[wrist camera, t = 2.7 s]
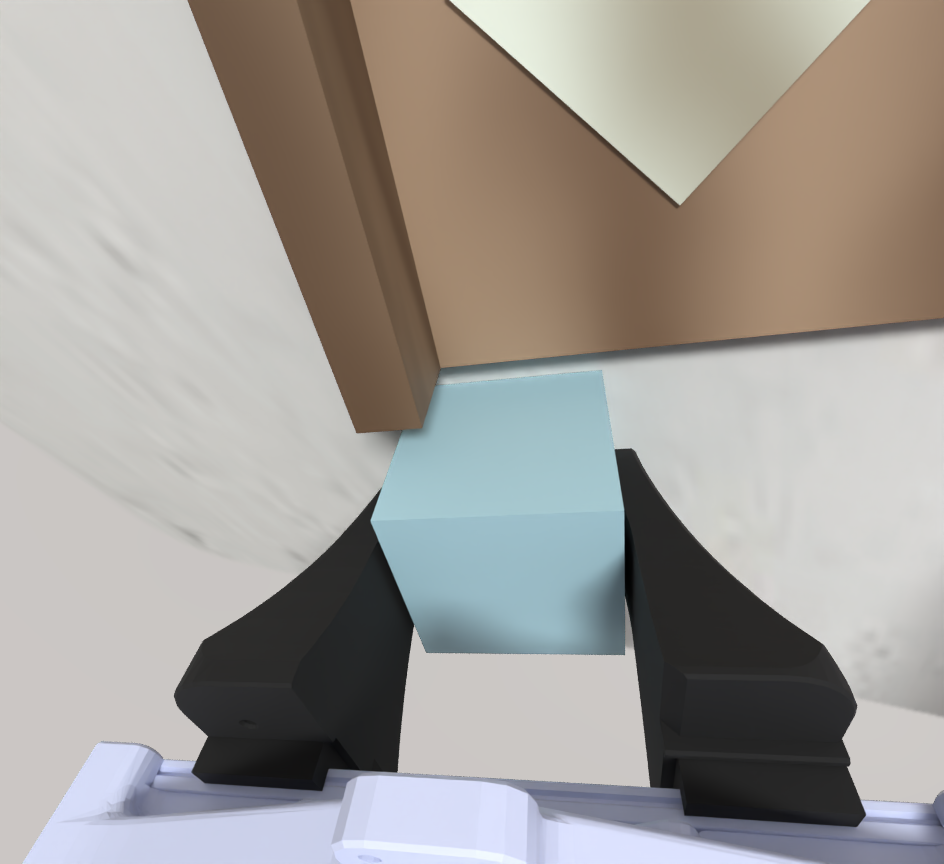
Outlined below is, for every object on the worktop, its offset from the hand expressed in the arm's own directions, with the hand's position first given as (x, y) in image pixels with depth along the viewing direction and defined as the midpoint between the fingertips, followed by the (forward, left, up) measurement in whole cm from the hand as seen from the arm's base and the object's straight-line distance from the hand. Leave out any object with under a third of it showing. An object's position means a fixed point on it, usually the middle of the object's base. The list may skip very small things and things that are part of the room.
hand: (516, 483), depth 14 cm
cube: (0, 0, -1) cm, 1 cm away
